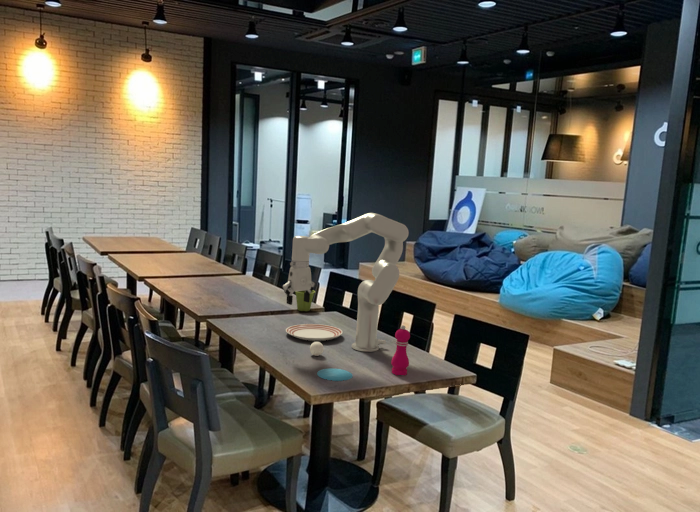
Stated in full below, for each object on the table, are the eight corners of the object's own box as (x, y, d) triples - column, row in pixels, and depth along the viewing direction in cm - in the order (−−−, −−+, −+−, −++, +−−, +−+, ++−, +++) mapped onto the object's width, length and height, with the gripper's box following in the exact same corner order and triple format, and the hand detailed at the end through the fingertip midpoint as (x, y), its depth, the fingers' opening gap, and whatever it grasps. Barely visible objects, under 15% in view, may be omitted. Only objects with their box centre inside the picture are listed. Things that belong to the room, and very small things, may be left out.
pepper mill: (406, 370, 249) (411, 323, 247) (409, 376, 242) (413, 328, 240) (389, 369, 249) (393, 322, 246) (391, 375, 242) (395, 327, 239)
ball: (320, 353, 265) (321, 339, 264) (325, 357, 259) (325, 343, 259) (307, 353, 263) (308, 340, 262) (311, 357, 257) (312, 344, 257)
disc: (345, 368, 247) (345, 367, 247) (357, 379, 234) (357, 379, 234) (312, 369, 242) (312, 369, 242) (323, 381, 229) (323, 381, 229)
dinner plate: (274, 337, 286) (274, 330, 286) (304, 326, 310) (305, 319, 310) (324, 348, 274) (324, 341, 273) (352, 336, 298) (352, 329, 297)
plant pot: (290, 310, 340) (291, 291, 339) (297, 306, 352) (299, 287, 350) (309, 313, 337) (311, 293, 336) (317, 309, 348) (318, 290, 347)
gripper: (290, 267, 253) (287, 306, 255) (320, 264, 265) (318, 302, 268) (279, 264, 258) (277, 303, 261) (309, 262, 270) (307, 299, 273)
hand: (298, 303), depth 264 cm, fingers open, 9 cm apart
